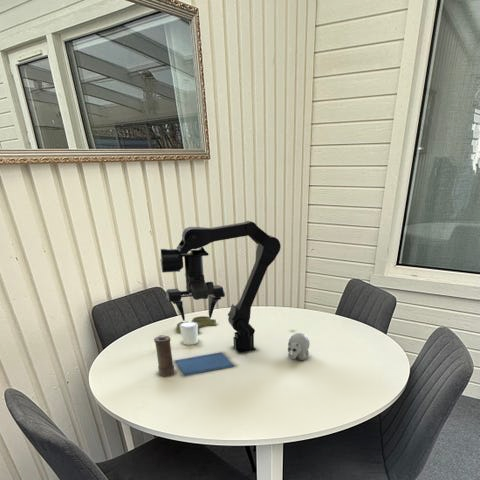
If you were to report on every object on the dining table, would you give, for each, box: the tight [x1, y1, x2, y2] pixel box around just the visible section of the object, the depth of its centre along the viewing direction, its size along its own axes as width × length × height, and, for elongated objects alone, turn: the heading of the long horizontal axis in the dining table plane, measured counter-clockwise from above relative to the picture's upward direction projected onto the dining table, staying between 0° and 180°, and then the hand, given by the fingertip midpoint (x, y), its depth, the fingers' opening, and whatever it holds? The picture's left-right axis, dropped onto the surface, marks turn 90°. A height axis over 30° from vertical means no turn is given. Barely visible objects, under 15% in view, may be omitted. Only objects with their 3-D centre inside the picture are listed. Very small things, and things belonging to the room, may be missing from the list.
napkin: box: [174, 352, 235, 377], centre depth 140 cm, size 17×13×1 cm
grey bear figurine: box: [287, 332, 311, 361], centre depth 138 cm, size 7×12×8 cm, turn 152°
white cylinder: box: [179, 321, 199, 346], centre depth 156 cm, size 7×7×7 cm
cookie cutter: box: [176, 315, 217, 335], centre depth 172 cm, size 18×12×2 cm, turn 149°
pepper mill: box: [153, 334, 175, 377], centre depth 131 cm, size 5×5×12 cm
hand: (197, 319), depth 140 cm, fingers open, 9 cm apart
